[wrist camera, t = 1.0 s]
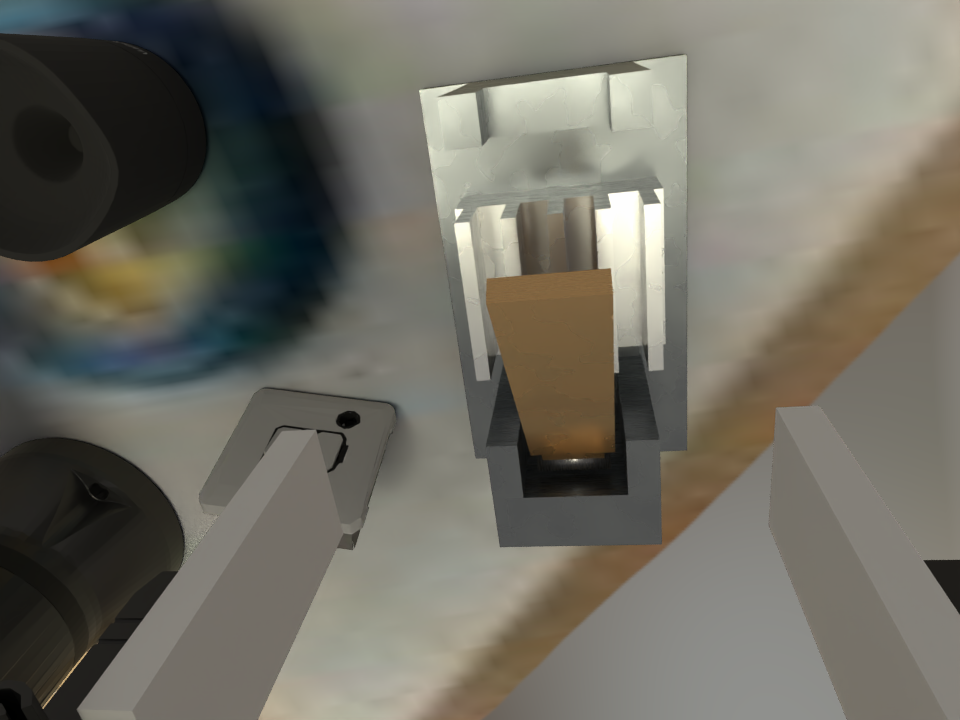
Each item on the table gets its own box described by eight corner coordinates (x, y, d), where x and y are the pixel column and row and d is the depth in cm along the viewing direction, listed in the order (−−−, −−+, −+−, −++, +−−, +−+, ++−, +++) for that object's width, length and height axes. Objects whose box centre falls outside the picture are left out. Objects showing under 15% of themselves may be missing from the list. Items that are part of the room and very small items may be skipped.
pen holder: (250, 139, 37) (148, 171, 28) (151, 242, 41) (31, 300, 32) (117, -9, 35) (-41, -25, 26) (23, 114, 38) (-145, 138, 29)
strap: (613, 446, 35) (615, 472, 34) (535, 449, 35) (535, 475, 34) (610, 263, 22) (613, 299, 21) (487, 273, 22) (485, 309, 22)
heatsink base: (684, 441, 42) (714, 551, 33) (477, 449, 44) (453, 555, 35) (683, 54, 33) (725, 60, 24) (423, 88, 35) (371, 106, 26)
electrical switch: (399, 401, 43) (358, 502, 35) (400, 464, 46) (361, 570, 38) (258, 383, 44) (187, 478, 36) (267, 446, 47) (202, 546, 39)
